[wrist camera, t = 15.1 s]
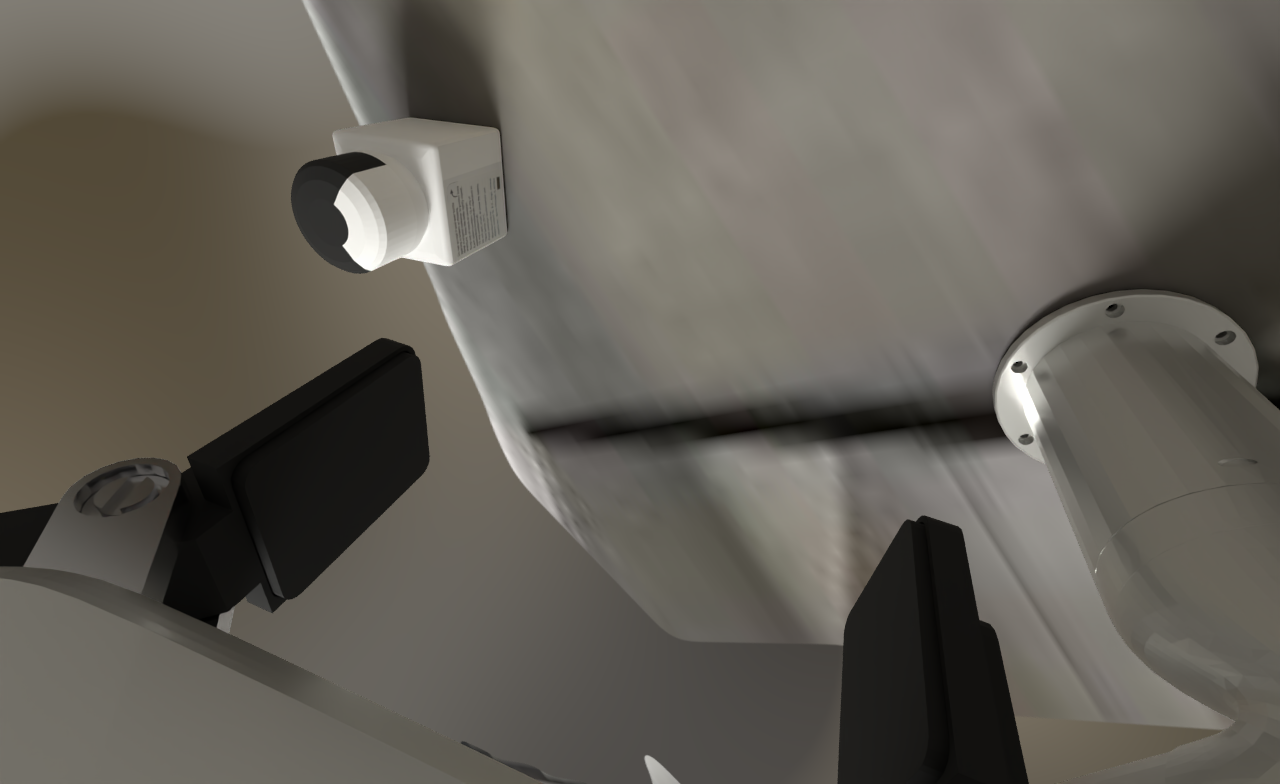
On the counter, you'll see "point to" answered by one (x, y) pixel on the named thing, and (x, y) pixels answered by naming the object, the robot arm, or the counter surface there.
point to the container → (403, 194)
